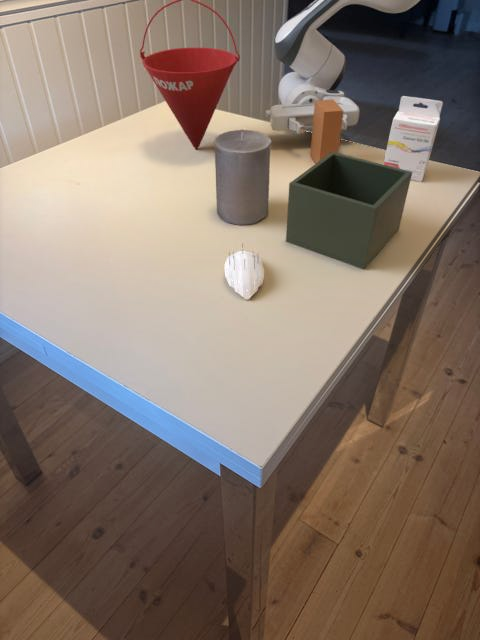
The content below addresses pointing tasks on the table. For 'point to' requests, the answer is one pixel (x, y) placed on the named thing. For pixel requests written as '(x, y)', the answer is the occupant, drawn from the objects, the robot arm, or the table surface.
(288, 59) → the robot arm
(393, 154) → the ink cartridge box
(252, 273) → the pincushion
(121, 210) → the table surface
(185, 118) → the fire bucket
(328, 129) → the orange rectangular block
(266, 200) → the pillar candle
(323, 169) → the waste bin
